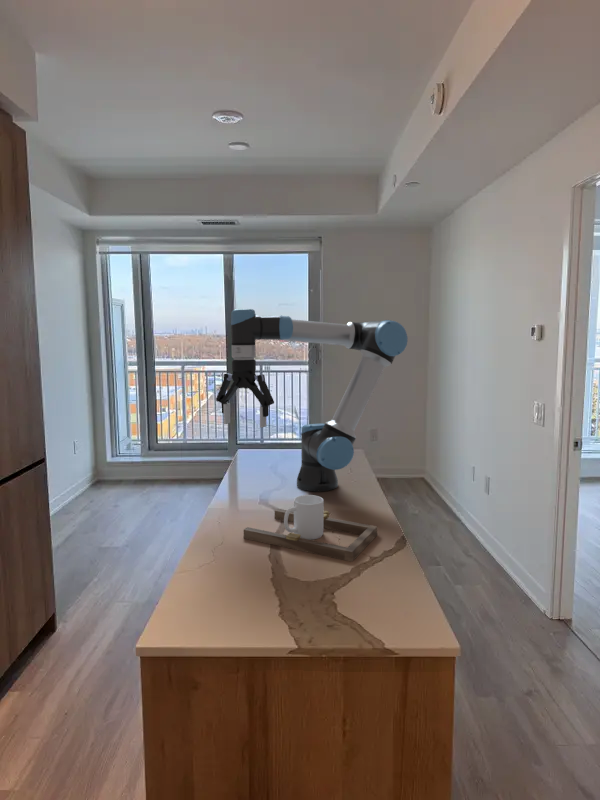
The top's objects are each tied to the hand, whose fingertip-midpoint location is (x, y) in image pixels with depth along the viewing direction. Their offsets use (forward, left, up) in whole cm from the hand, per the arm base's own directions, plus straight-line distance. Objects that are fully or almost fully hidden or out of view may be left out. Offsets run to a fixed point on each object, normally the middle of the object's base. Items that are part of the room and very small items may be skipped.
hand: (244, 425), depth 168 cm
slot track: (+12, +30, -27) cm, 42 cm away
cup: (+14, +28, -27) cm, 41 cm away
